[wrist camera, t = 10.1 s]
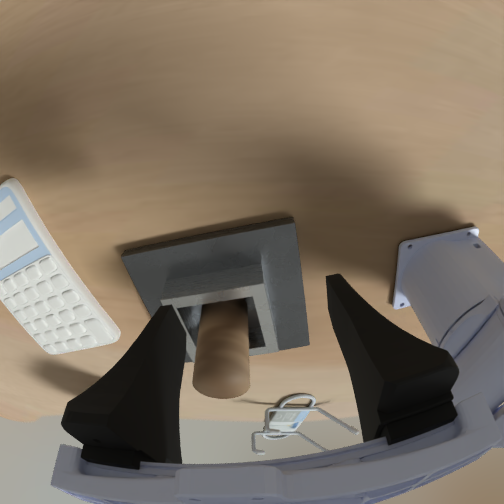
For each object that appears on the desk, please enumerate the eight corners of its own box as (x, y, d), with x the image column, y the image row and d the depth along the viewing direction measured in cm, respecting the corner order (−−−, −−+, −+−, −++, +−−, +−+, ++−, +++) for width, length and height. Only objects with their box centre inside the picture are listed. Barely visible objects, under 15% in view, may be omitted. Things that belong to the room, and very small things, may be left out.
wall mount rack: (269, 390, 36) (272, 429, 31) (361, 390, 38) (370, 424, 33) (246, 434, 45) (247, 464, 40) (321, 434, 46) (325, 462, 42)
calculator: (53, 347, 32) (48, 358, 31) (-38, 224, 22) (-48, 233, 20) (126, 331, 30) (121, 344, 29) (18, 170, 20) (6, 178, 18)
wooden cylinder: (242, 287, 25) (243, 365, 18) (251, 320, 27) (254, 395, 21) (196, 294, 25) (184, 371, 19) (209, 326, 28) (202, 400, 21)
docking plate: (292, 216, 23) (300, 240, 20) (308, 337, 30) (313, 364, 28) (124, 250, 24) (111, 275, 21) (179, 355, 32) (175, 381, 29)
